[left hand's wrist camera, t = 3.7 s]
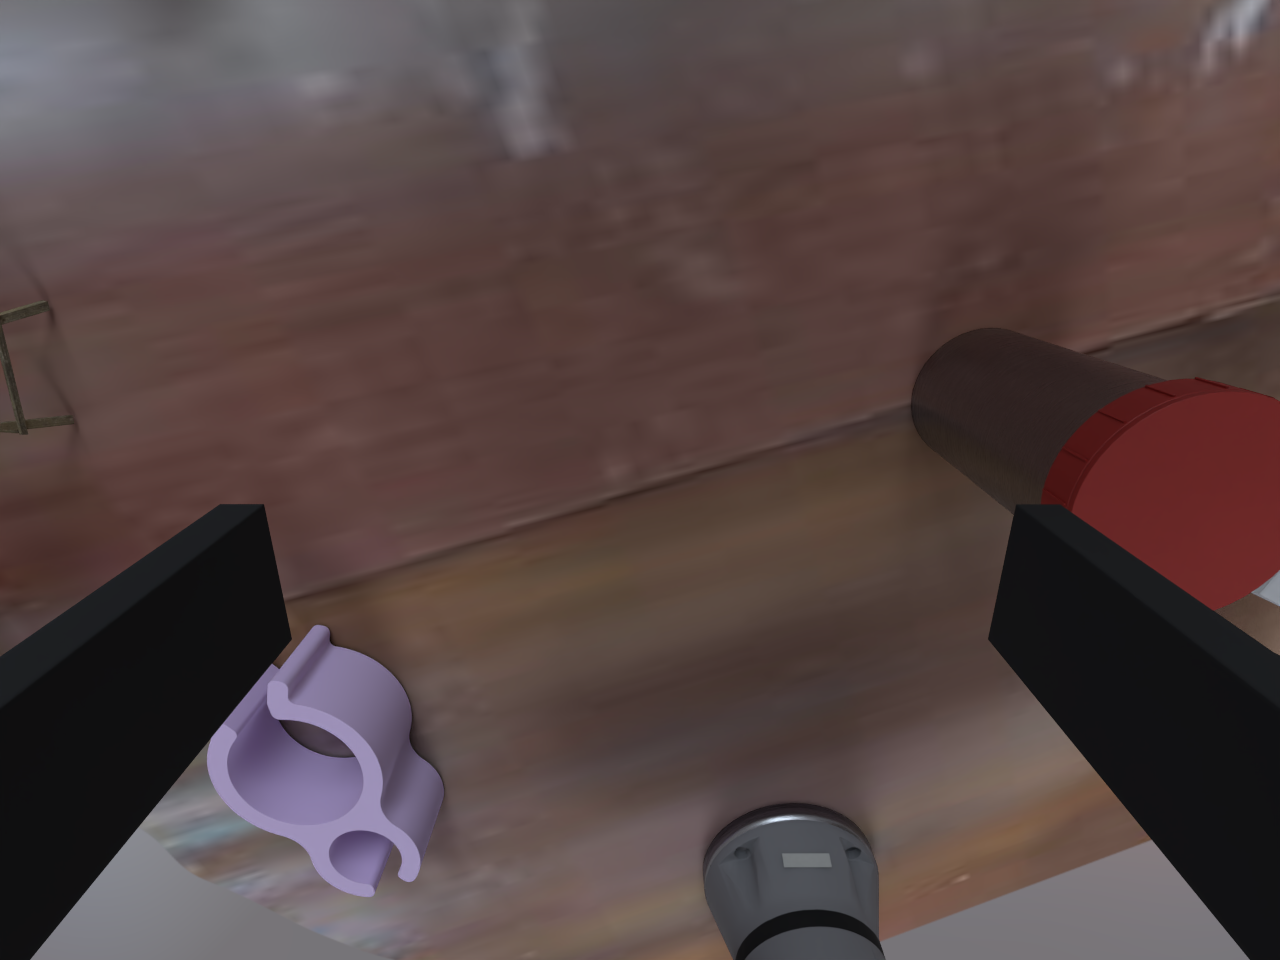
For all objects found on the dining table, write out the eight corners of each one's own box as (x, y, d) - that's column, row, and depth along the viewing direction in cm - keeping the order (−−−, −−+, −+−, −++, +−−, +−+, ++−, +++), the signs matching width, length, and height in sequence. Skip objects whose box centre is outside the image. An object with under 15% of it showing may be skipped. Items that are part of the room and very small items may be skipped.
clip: (479, 793, 60) (460, 863, 54) (357, 840, 62) (325, 913, 56) (347, 610, 54) (307, 665, 47) (216, 670, 56) (160, 730, 49)
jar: (943, 483, 50) (1115, 637, 32) (888, 374, 47) (1044, 475, 29) (1067, 417, 48) (1325, 540, 30) (1019, 300, 46) (1271, 358, 27)
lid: (1083, 628, 34) (1114, 657, 32) (1004, 456, 31) (1032, 475, 29) (1303, 525, 32) (1351, 548, 30) (1242, 331, 29) (1292, 341, 27)
